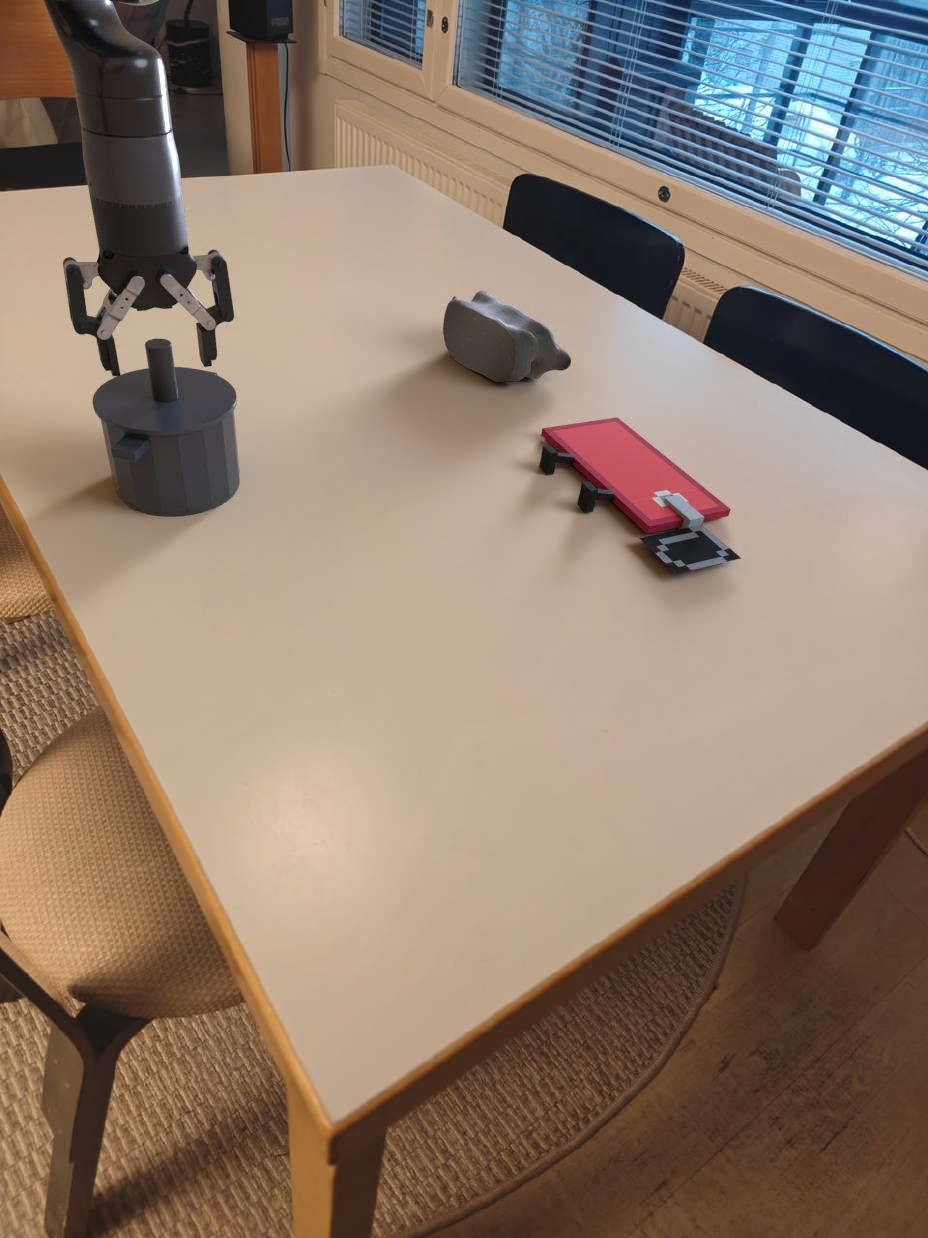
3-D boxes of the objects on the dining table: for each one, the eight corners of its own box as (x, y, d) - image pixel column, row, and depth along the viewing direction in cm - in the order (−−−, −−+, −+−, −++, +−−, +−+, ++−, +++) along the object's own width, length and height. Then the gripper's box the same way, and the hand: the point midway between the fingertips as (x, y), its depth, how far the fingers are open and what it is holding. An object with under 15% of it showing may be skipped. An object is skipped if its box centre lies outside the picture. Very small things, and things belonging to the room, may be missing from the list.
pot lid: (66, 425, 81) (50, 359, 77) (137, 367, 92) (127, 305, 87) (201, 452, 80) (193, 386, 76) (258, 389, 90) (254, 328, 86)
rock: (577, 380, 120) (587, 324, 114) (518, 399, 114) (526, 341, 108) (490, 333, 129) (495, 279, 124) (431, 348, 123) (435, 293, 118)
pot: (78, 516, 86) (57, 431, 79) (163, 432, 99) (151, 354, 93) (197, 541, 84) (185, 456, 78) (267, 453, 98) (262, 374, 92)
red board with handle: (659, 585, 85) (772, 557, 91) (666, 562, 83) (781, 535, 89) (514, 442, 105) (615, 427, 111) (517, 421, 103) (619, 407, 109)
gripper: (50, 203, 67) (89, 394, 78) (231, 197, 73) (245, 376, 83) (39, 176, 72) (77, 359, 83) (210, 172, 78) (225, 344, 88)
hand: (161, 367), depth 83 cm, fingers open, 8 cm apart
